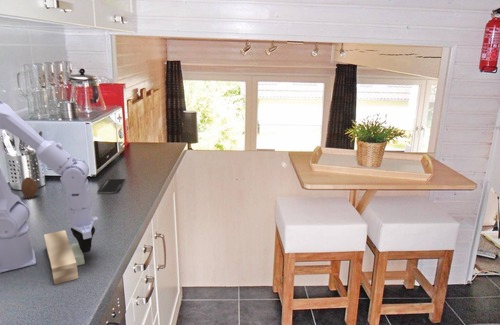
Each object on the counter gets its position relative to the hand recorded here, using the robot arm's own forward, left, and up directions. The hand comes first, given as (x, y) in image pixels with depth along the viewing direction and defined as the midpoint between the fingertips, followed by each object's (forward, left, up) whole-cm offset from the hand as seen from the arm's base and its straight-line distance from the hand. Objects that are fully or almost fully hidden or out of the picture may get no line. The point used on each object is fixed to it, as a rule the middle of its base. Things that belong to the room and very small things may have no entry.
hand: (85, 251), depth 109 cm
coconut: (-10, +54, -2) cm, 55 cm away
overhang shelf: (-6, 0, -2) cm, 7 cm away
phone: (+19, +51, -2) cm, 54 cm away
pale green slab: (-5, 0, -2) cm, 5 cm away
